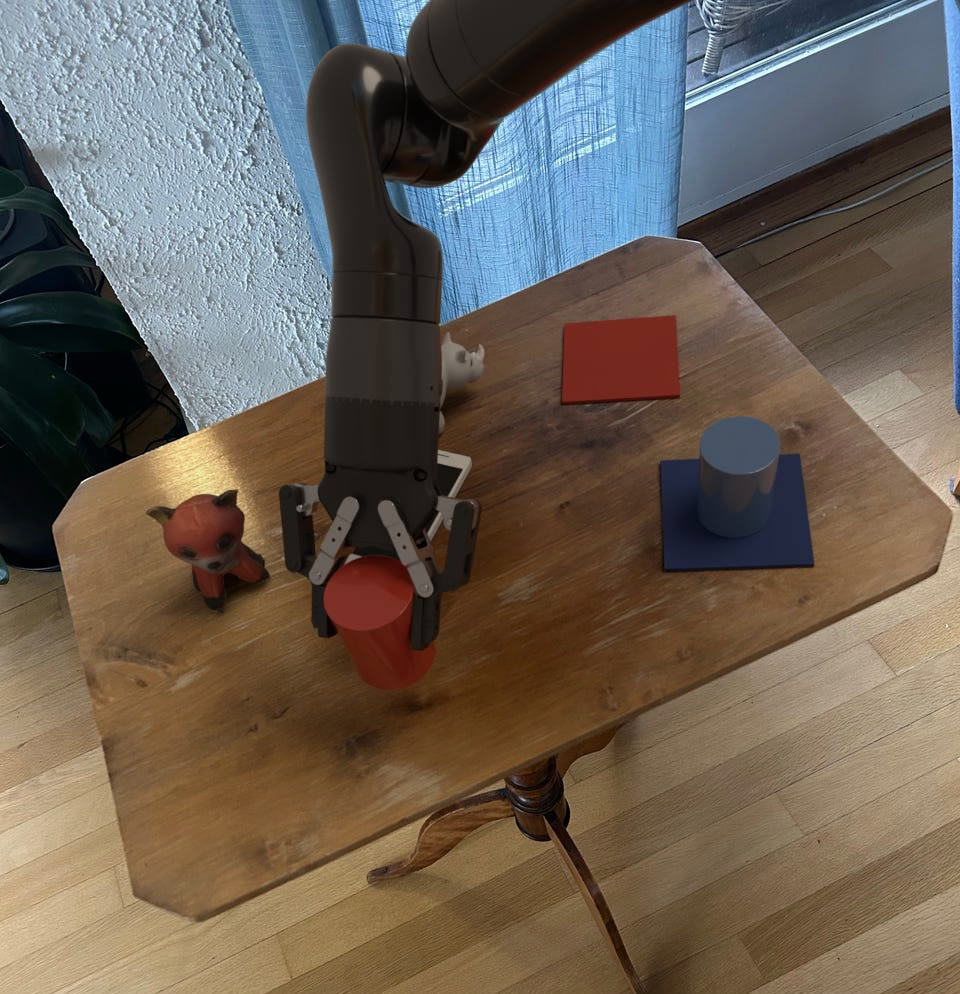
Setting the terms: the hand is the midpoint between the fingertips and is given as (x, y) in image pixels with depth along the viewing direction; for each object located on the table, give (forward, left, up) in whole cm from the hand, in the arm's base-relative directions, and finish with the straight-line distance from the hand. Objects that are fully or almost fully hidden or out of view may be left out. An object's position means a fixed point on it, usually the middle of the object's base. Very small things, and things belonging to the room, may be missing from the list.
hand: (374, 641), depth 71 cm
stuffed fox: (+18, -16, -12) cm, 27 cm away
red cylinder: (0, -2, -4) cm, 5 cm away
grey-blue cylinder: (-26, -20, -12) cm, 35 cm away
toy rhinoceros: (+1, -33, -12) cm, 36 cm away
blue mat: (-26, -20, -12) cm, 35 cm away
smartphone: (+3, -21, -12) cm, 25 cm away
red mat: (-17, -40, -12) cm, 45 cm away
